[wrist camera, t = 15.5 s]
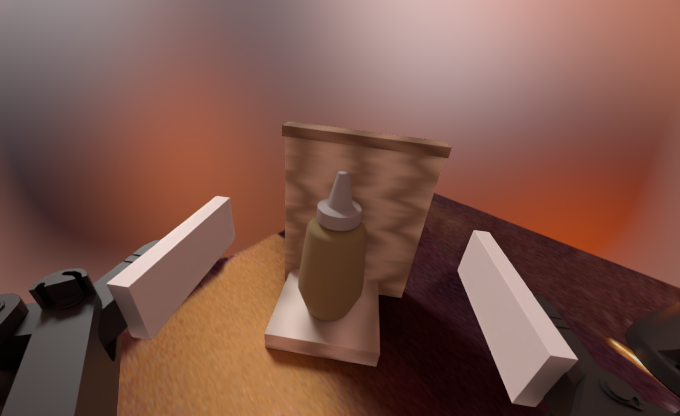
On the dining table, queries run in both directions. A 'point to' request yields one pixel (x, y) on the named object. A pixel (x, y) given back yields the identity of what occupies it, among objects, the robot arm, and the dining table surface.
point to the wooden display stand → (377, 215)
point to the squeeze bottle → (334, 254)
